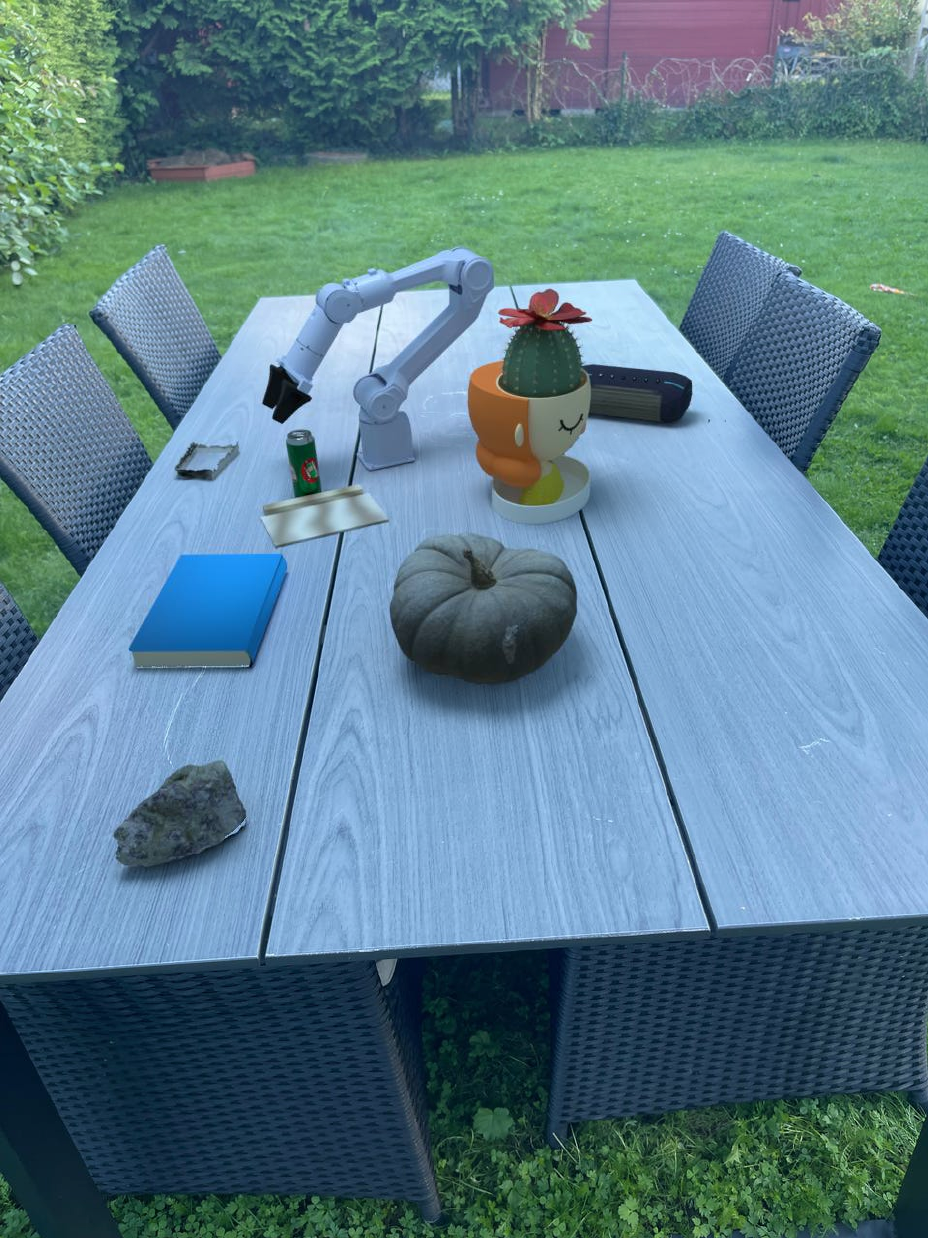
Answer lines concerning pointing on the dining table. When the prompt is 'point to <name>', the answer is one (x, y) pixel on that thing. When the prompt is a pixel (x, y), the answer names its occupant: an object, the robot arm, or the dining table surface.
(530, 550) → the gourd
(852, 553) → the dining table surface
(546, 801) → the dining table surface
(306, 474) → the soda can
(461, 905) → the dining table surface
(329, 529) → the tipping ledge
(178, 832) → the mineral rock
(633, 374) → the portable speaker
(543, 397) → the potted cactus
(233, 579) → the book
